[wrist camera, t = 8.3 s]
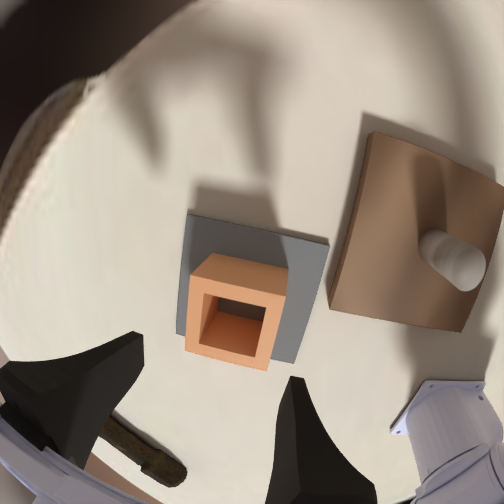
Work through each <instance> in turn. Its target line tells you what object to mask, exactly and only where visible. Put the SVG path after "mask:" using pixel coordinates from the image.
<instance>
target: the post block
mask: <svg viewBox="0 0 504 504" xmlns="http://www.w3.org/2000/svg"><path fill="white" fill-rule="evenodd" d="M503 210H504V187H503V186H502V185H500V184H498V183H496V182H494V181H493V180H491V179H489V178H487V177H485V176H483V175H481V174H479V173H477V172H475V171H473V170H471V169H469V168H467V167H465V166H463V165H461V164H459V163H456V162H454V161H452V160H450V159H447V158H445V157H443V156H440V155H438V154H436V153H433V152H431V151H428V150H426V149H423V148H421V147H418V146H415V145H413V144H410V143H407V142H405V141H402V140H399V139H396V138H393V137H390V136H387V135H384V134H381V133H378V132H375V131H374V132H372V133H370V134H368V139H367V145H366V150H365V156H364V161H363V166H362V171H361V176H360V180H359V185H358V190H357V194H356V199H355V203H354V207H353V211H352V215H351V219H350V223H349V227H348V231H347V235H346V239H345V243H344V246H343V250H342V254H341V257H340V261H339V264H338V268H337V271H336V275H335V278H334V281H333V285H332V288H331V291H330V294H329V297H328V304H329V309H330V310H335V311H340V312H345V313H350V314H355V315H360V316H365V317H370V318H376V319H381V320H387V321H392V322H398V323H404V324H409V325H415V326H421V327H428V328H434V329H440V330H447V331H453V332H460V333H461V331H462V329H463V327H464V325H465V323H466V321H467V319H468V317H469V314H470V312H471V310H472V307H473V305H474V303H475V300H476V298H477V295H478V293H479V290H480V288H481V285H482V282H483V280H484V277H485V274H486V271H487V268H488V265H489V262H490V259H491V256H492V253H493V250H494V246H495V243H496V239H497V235H498V231H499V228H500V223H501V219H502V215H503Z"/></svg>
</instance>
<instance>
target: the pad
mask: <svg viewBox="0 0 504 504" xmlns="http://www.w3.org/2000/svg"><path fill="white" fill-rule="evenodd" d="M329 248H330V246H329V245H327V244H323V243H319V242H314V241H310V240H306V239H301V238H297V237H292V236H288V235H284V234H279V233H275V232H270V231H265V230H261V229H256V228H252V227H247V226H242V225H238V224H233V223H228V222H223V221H219V220H214V219H209V218H204V217H199V216H194V215H187V221H186V228H185V237H184V245H183V254H182V263H181V274H180V284H179V296H178V309H177V324H176V334H178V335H182V336H186V321H187V307H188V295H189V283H190V275H191V274H192V273H193V272H194V271H195V270H196V269H197V268H198V267H199V266H200V265H201V264H202V263H203V262H204V261H205V260H206V259H207V258H208V257H209V256H210V255H211V254H212V253H216V254H221V255H226V256H230V257H235V258H240V259H244V260H249V261H254V262H258V263H263V264H268V265H272V266H277V267H282V268H287V269H289V272H288V282H287V292H286V298H285V303H284V307H283V311H282V315H281V319H280V323H279V326H278V330H277V334H276V338H275V342H274V346H273V349H272V353H271V357H270V359H273V360H278V361H283V362H287V363H292V364H294V362H295V359H296V356H297V353H298V350H299V347H300V344H301V341H302V338H303V335H304V332H305V329H306V326H307V323H308V320H309V317H310V314H311V311H312V307H313V304H314V301H315V298H316V294H317V291H318V287H319V284H320V281H321V277H322V274H323V270H324V266H325V263H326V259H327V255H328V252H329ZM217 311H219V312H223V313H227V314H231V315H236V316H240V317H244V318H249V319H253V320H258V321H262V322H263V321H264V316H265V312H266V307H262V306H257V305H253V304H248V303H244V302H239V301H235V300H231V299H226V298H222V297H219V303H218V310H217Z"/></svg>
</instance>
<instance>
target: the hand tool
mask: <svg viewBox="0 0 504 504" xmlns="http://www.w3.org/2000/svg"><path fill="white" fill-rule="evenodd" d="M99 437H101V438H103V439H104V440H106V441H107V442H108V443H110V444H111V445H112V446H113V447H115V448H116V449H118V450H119V451H120V452H122V453H123V454H124V455H126V456H127V457H128V458H130V459H131V460H132V461H134V462H135V463H136V464H137V465H140V466H141V472H143V473H144V474H146V475H148V476H150V477H151V478H153V479H154V480H156V481H157V482H159V483H160V484H163V485H165V486H167V487H169V488H170V487H176V486H178V485H179V484H181V483H182V482H184V480H185V479H186V476H187V473H188V472H187V470H186V469H185V468H184V467H183V466H182V465H180V464H179V463H178V462H177V461H175V460H174V459H172V458H171V457H170V456H168V455H167V454H166V453H164V452H163V451H161V450H158V449H153V448H151V447H149V446H148V445H147V444H145V443H144V442H142V441H141V440H140V439H138V438H137V437H136V436H135V435H133V434H131V433H130V432H128V431H127V430H126V429H125V428H123V427H122V426H121V425H120V424H119V423H117V422H116V421H115V420H114V419H113V418H111V417H110V416H109V417H108V419H107V421H106V423H105V424H104V426H103V428H102V430H101V432H100V434H99Z"/></svg>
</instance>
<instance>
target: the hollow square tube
mask: <svg viewBox="0 0 504 504" xmlns="http://www.w3.org/2000/svg"><path fill="white" fill-rule="evenodd" d="M288 272H289V269H287V268H282V267H277V266H272V265H268V264H263V263H258V262H254V261H249V260H244V259H240V258H235V257H230V256H226V255H221V254H216V253H212V254H211V255H210V256H209V257H208V258H207V259H206V260H205V261H204V262H203V263H202V264H201V265H200V266H199V267H198V268H197V269H196V270H195V271H194V272H193V273H192V274H191V275H190V283H189V295H188V307H187V321H186V336H185V351H188V352H192V353H195V354H199V355H202V356H206V357H210V358H213V359H217V360H221V361H225V362H229V363H233V364H237V365H241V366H245V367H250V368H254V369H259V370H263V371H267V368H268V364H269V361H270V357H271V353H272V349H273V346H274V342H275V338H276V334H277V330H278V326H279V323H280V319H281V315H282V311H283V307H284V303H285V298H286V292H287V282H288ZM219 297H222V298H226V299H231V300H235V301H239V302H244V303H248V304H253V305H257V306H262V307H266V312H265V316H264V321H263V322H262V321H258V320H253V319H249V318H244V317H240V316H236V315H231V314H227V313H223V312H219V311H217V310H218V303H219Z"/></svg>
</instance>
